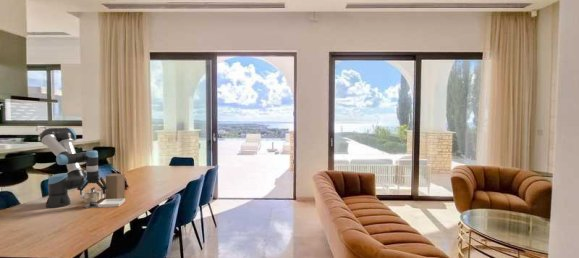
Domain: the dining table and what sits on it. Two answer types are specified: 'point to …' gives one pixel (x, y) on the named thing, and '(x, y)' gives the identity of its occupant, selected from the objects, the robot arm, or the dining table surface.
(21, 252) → the dining table surface
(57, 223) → the dining table surface
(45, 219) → the dining table surface
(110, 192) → the wooden block
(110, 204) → the tray
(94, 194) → the collar
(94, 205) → the grey lever faucet
